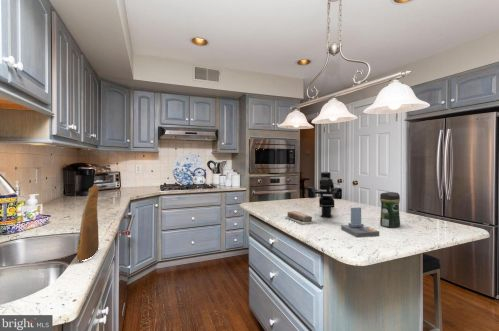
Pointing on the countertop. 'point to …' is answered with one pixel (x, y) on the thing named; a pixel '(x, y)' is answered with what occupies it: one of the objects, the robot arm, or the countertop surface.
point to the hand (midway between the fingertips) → (323, 196)
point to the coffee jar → (390, 209)
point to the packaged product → (300, 218)
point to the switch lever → (356, 217)
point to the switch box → (360, 231)
